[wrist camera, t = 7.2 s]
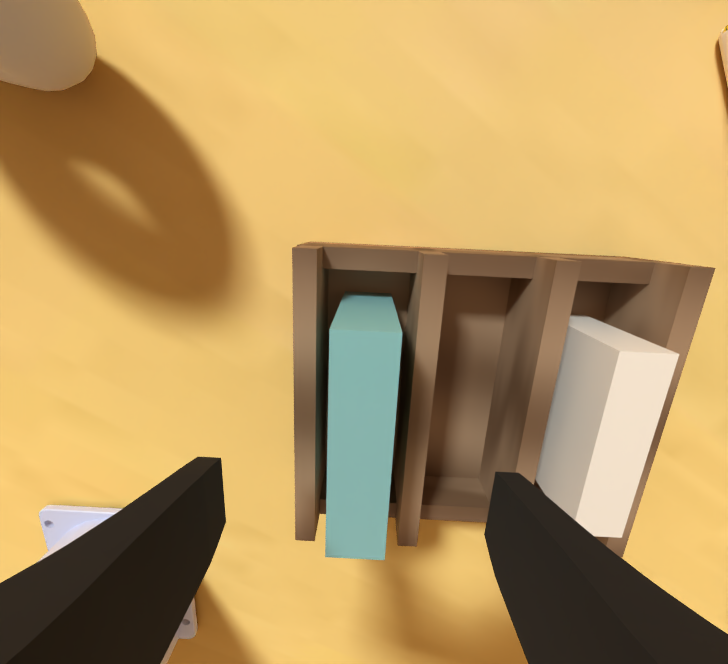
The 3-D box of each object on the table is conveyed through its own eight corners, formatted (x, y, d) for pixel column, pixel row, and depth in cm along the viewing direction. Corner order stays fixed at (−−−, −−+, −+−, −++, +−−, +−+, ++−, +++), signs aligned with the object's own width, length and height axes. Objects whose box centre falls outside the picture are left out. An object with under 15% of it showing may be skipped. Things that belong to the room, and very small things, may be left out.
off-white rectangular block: (553, 452, 18) (621, 537, 13) (516, 451, 18) (571, 535, 13) (585, 314, 16) (679, 354, 11) (543, 313, 16) (619, 351, 11)
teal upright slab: (380, 452, 18) (384, 559, 12) (340, 450, 18) (325, 557, 12) (390, 293, 16) (402, 333, 10) (344, 291, 16) (329, 329, 10)
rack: (568, 483, 19) (625, 557, 15) (309, 470, 19) (291, 540, 15) (625, 256, 16) (719, 268, 12) (310, 241, 16) (287, 247, 12)
